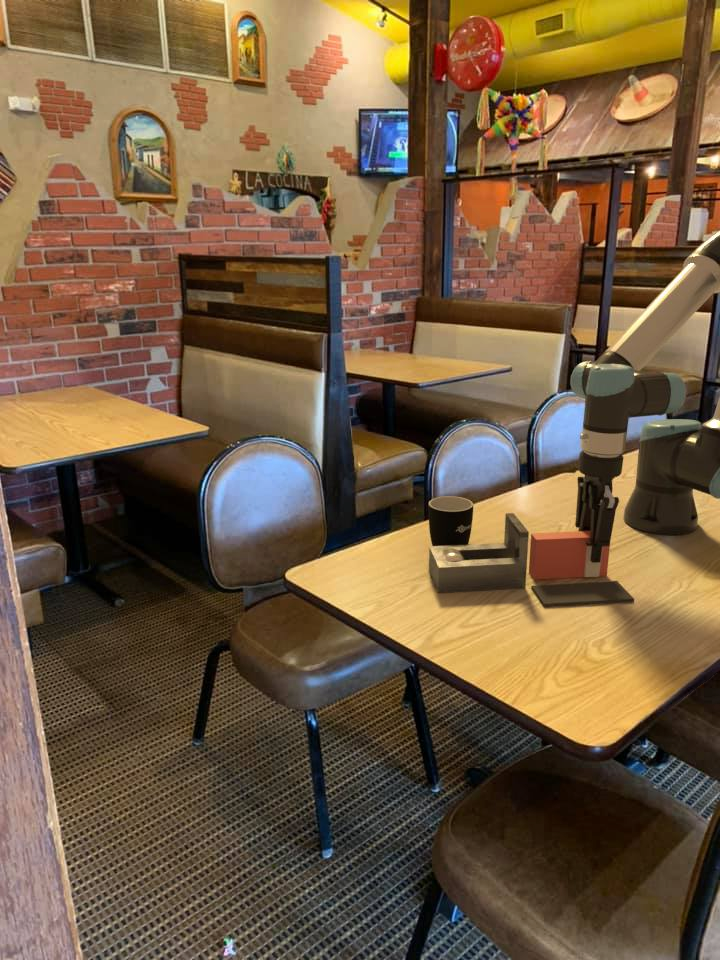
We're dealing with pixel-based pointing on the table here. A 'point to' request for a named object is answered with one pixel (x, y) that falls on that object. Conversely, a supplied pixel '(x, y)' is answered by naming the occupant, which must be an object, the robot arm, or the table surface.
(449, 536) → the mug
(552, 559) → the orange block
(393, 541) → the table surface
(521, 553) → the frame
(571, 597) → the pad
